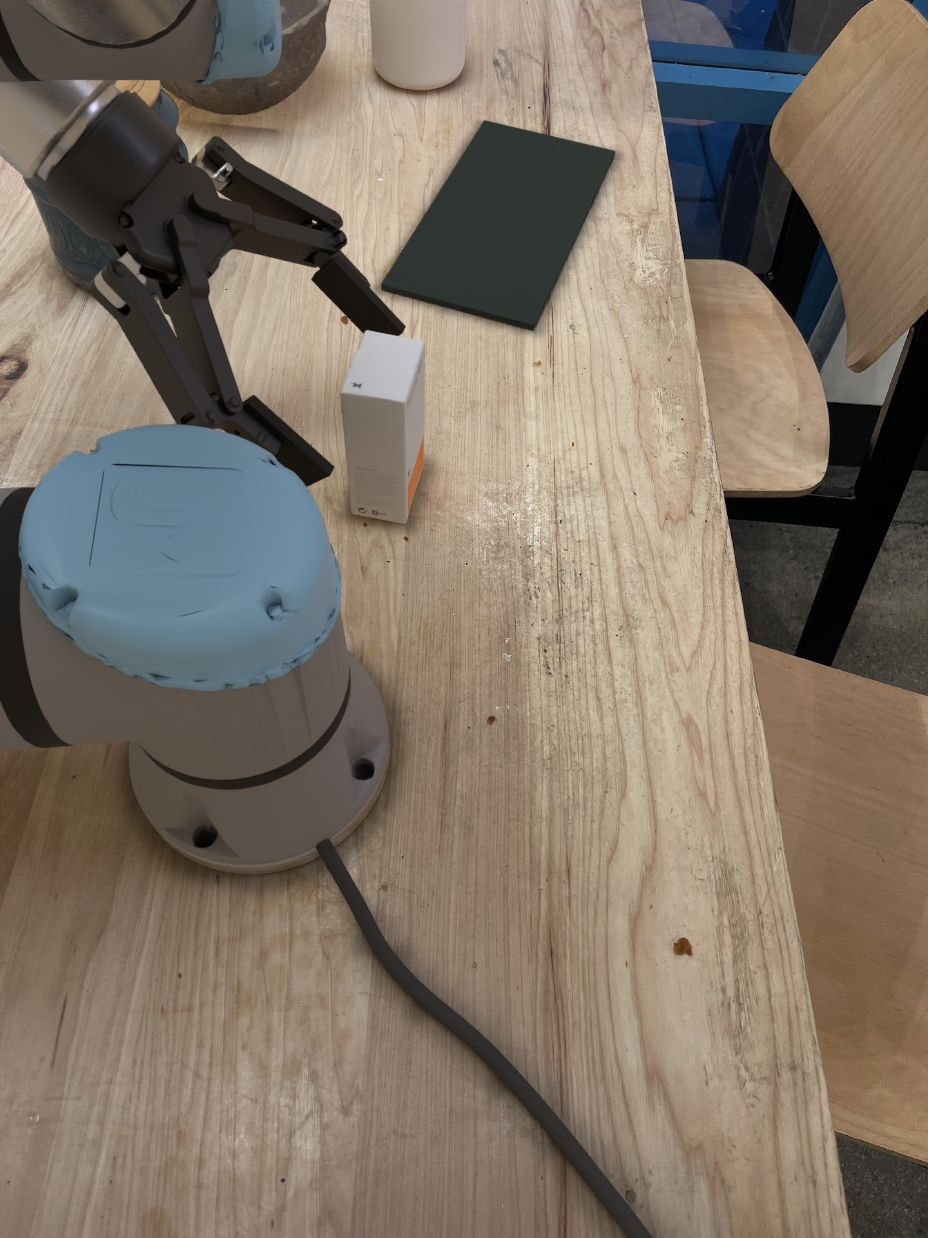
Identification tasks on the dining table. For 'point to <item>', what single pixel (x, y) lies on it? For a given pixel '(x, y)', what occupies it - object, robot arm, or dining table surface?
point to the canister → (65, 237)
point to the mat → (502, 225)
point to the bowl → (299, 57)
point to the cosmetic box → (384, 425)
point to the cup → (418, 41)
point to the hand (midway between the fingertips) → (358, 403)
